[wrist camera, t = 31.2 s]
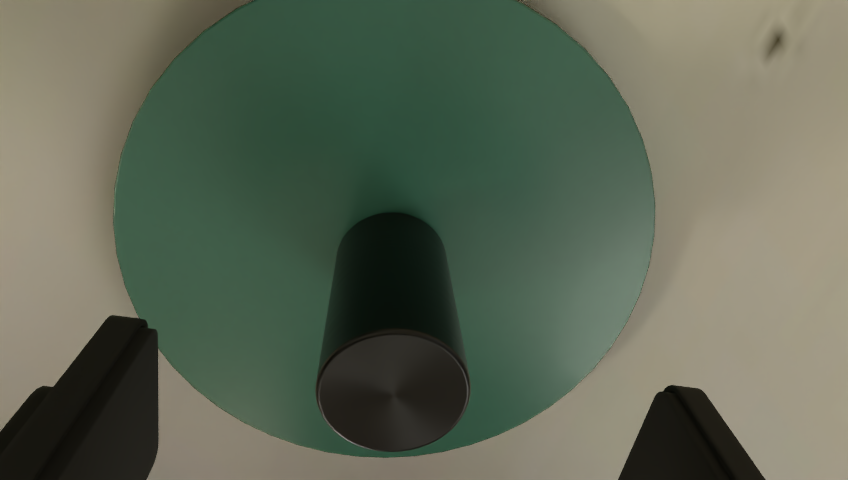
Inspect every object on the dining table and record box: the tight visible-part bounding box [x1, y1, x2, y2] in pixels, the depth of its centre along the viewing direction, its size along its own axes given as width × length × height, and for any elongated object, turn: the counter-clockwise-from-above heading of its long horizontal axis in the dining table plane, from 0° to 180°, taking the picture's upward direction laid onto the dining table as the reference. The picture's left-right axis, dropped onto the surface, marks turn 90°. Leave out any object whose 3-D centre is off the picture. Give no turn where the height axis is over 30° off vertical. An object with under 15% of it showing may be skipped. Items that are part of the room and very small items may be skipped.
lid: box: [113, 0, 655, 458], centre depth 14 cm, size 15×15×7 cm
